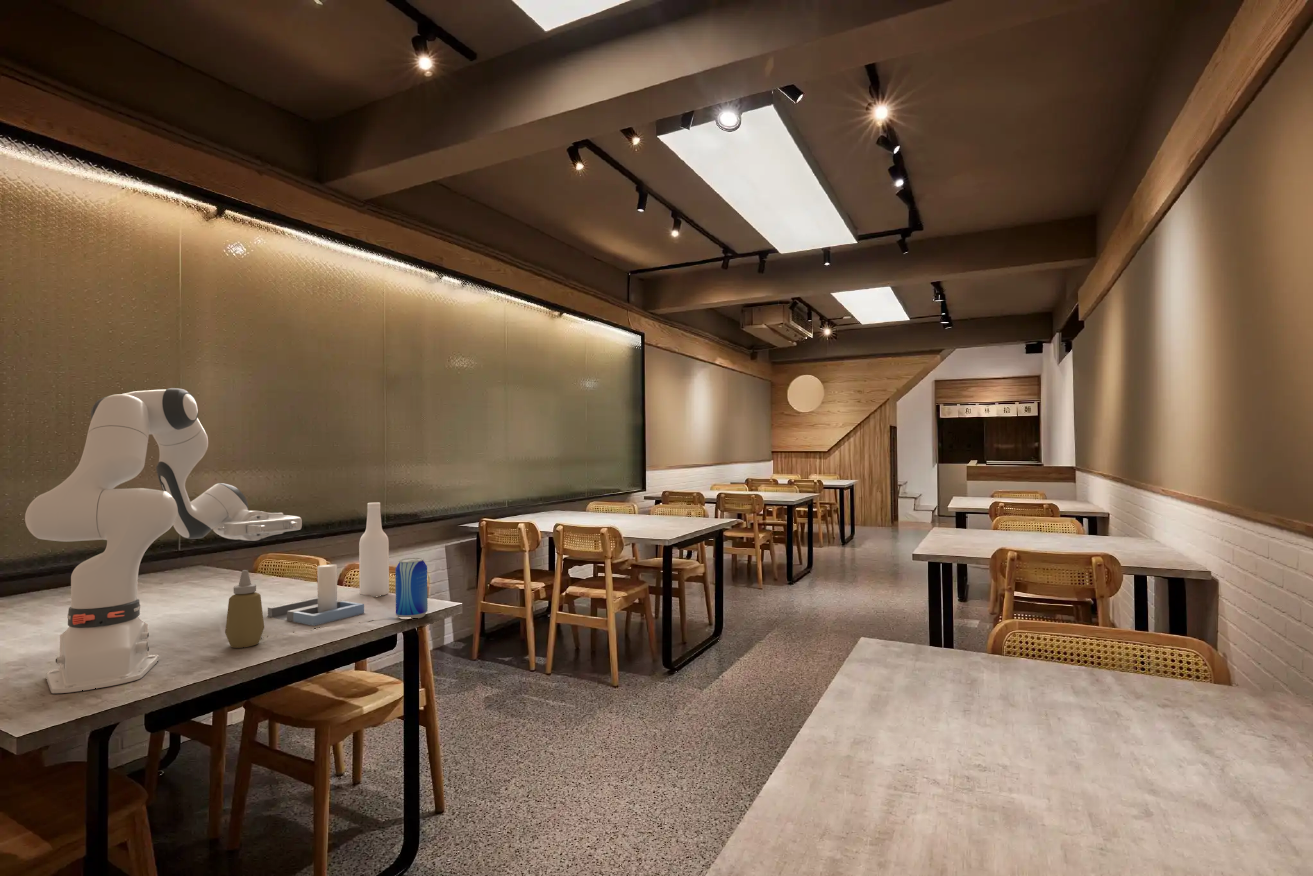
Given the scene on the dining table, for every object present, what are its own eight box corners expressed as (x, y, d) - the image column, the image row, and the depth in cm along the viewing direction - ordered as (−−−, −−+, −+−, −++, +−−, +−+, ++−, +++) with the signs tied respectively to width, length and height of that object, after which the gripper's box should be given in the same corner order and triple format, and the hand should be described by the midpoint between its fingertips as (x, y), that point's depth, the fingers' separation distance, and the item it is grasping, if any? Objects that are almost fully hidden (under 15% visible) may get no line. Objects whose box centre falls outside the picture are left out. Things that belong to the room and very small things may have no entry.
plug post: (338, 617, 182) (338, 566, 182) (319, 619, 179) (318, 568, 179) (335, 613, 186) (335, 563, 186) (316, 616, 183) (316, 565, 183)
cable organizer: (365, 616, 186) (365, 604, 186) (314, 629, 173) (314, 616, 173) (317, 608, 197) (317, 596, 197) (266, 619, 184) (266, 607, 184)
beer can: (421, 620, 181) (420, 562, 181) (390, 620, 181) (390, 562, 181) (431, 612, 189) (431, 557, 190) (402, 613, 189) (402, 557, 190)
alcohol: (374, 598, 208) (373, 504, 209) (353, 597, 212) (352, 503, 212) (394, 593, 217) (394, 501, 217) (374, 591, 220) (373, 501, 220)
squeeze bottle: (271, 643, 161) (270, 569, 161) (235, 652, 154) (235, 574, 154) (254, 638, 165) (253, 566, 165) (218, 646, 158) (218, 571, 159)
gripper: (214, 517, 187) (241, 519, 180) (285, 512, 204) (312, 513, 197) (214, 540, 186) (241, 542, 179) (285, 532, 204) (312, 534, 197)
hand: (279, 527), depth 188 cm, fingers open, 8 cm apart
